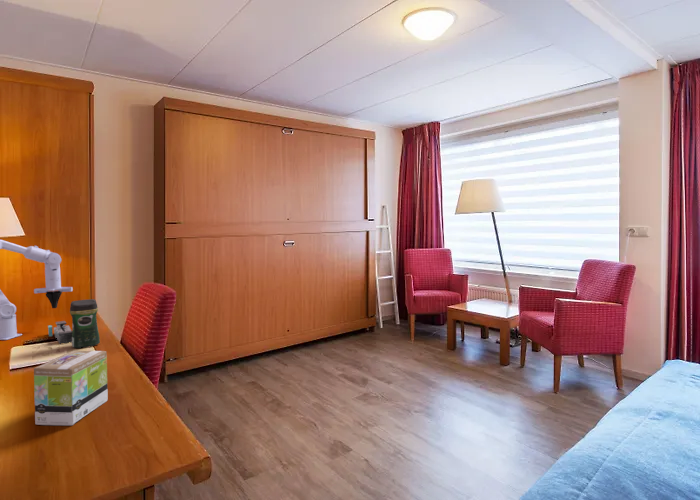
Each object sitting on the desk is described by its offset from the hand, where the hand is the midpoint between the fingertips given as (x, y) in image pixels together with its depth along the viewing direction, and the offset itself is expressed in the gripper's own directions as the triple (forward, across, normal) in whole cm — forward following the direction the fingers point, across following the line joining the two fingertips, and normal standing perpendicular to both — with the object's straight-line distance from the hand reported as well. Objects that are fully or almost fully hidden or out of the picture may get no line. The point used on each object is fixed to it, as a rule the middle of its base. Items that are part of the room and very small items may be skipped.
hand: (54, 307), depth 195 cm
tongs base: (+10, +8, -17) cm, 21 cm away
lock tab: (+10, +1, -12) cm, 16 cm away
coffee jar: (+10, +19, -33) cm, 40 cm away
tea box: (+10, +31, -99) cm, 104 cm away
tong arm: (+10, +7, -17) cm, 21 cm away
